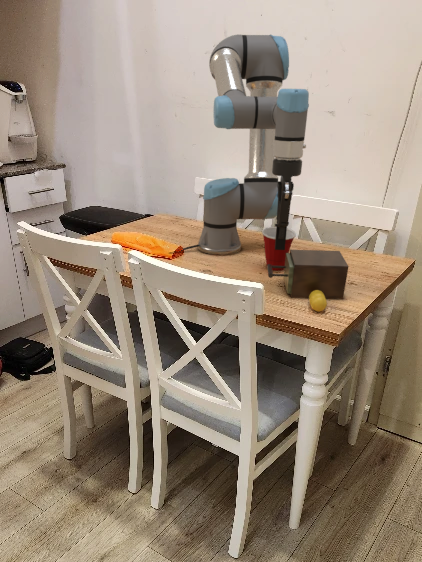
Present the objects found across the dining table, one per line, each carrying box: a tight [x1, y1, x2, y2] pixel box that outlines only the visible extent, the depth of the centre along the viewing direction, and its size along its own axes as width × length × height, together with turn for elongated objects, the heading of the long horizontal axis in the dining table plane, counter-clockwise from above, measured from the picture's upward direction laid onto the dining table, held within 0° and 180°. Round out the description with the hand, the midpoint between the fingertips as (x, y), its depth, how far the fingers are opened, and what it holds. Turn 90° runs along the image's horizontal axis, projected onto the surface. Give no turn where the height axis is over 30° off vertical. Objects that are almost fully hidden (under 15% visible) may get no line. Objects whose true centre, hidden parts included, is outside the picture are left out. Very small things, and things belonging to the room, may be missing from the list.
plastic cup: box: [261, 226, 297, 272], centre depth 154 cm, size 11×11×12 cm
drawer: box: [266, 252, 294, 295], centre depth 140 cm, size 19×12×8 cm, turn 87°
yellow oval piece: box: [308, 290, 328, 313], centre depth 130 cm, size 4×8×4 cm, turn 177°
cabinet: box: [289, 249, 349, 300], centre depth 140 cm, size 15×14×10 cm
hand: (279, 249), depth 136 cm, fingers closed
